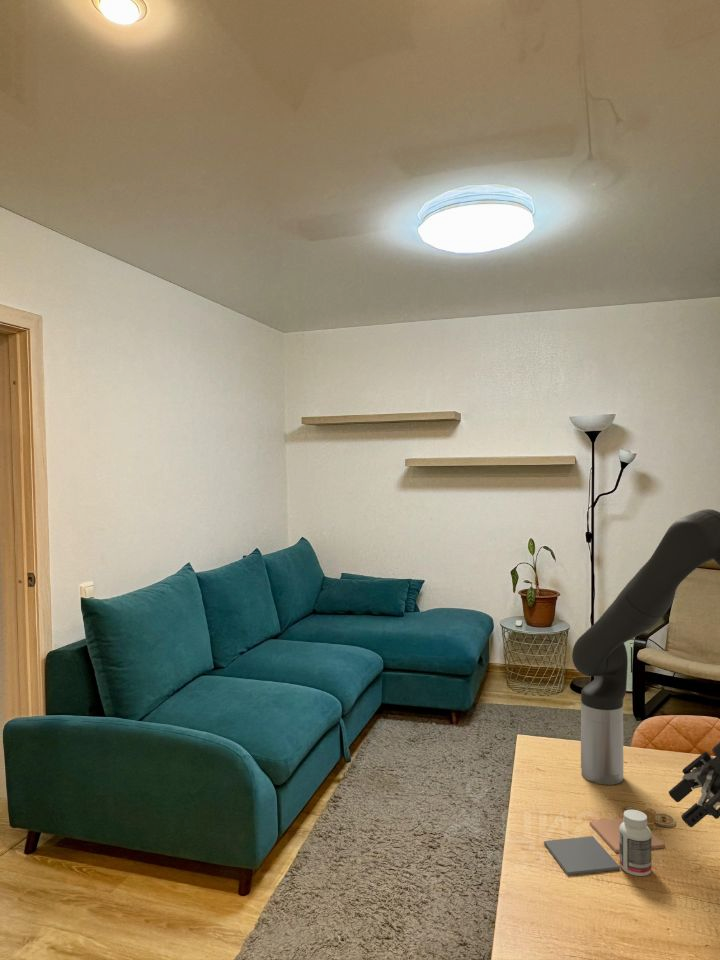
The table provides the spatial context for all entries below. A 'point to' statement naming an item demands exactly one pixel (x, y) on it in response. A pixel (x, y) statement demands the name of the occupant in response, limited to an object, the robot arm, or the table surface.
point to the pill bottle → (635, 843)
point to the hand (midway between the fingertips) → (678, 809)
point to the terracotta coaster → (617, 833)
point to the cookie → (656, 818)
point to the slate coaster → (581, 855)
